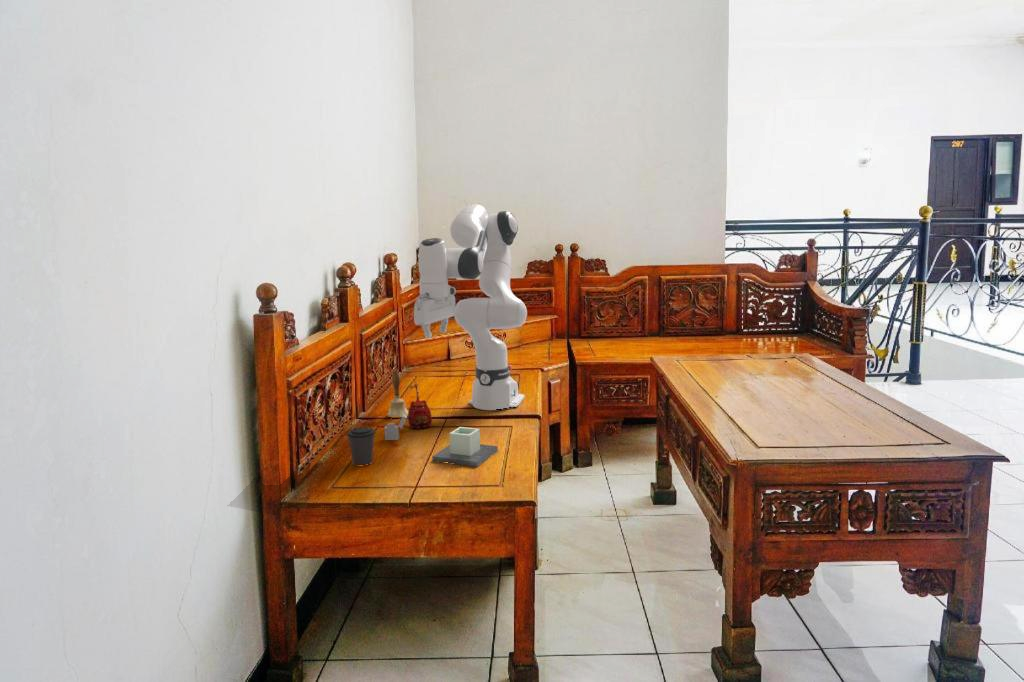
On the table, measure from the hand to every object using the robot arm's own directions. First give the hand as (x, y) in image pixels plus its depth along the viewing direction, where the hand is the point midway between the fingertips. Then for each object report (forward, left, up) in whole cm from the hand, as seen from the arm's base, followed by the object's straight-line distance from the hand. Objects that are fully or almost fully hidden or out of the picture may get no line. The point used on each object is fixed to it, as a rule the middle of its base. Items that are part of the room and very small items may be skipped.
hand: (436, 335), depth 227 cm
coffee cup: (+34, -6, -31) cm, 47 cm away
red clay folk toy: (-1, -8, -31) cm, 32 cm away
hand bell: (-10, -22, -31) cm, 40 cm away
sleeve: (+19, +19, -30) cm, 40 cm away
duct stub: (+19, +19, -31) cm, 41 cm away
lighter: (+13, -8, -31) cm, 35 cm away
